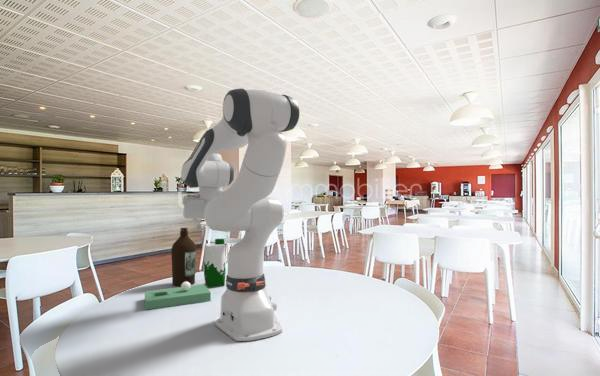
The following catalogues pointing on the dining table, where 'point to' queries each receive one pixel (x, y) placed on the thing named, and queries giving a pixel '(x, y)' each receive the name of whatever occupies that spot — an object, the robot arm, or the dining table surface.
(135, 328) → the dining table surface
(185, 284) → the golf ball
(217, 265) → the milk carton
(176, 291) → the putting mat
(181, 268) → the brown cylinder
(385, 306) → the dining table surface
